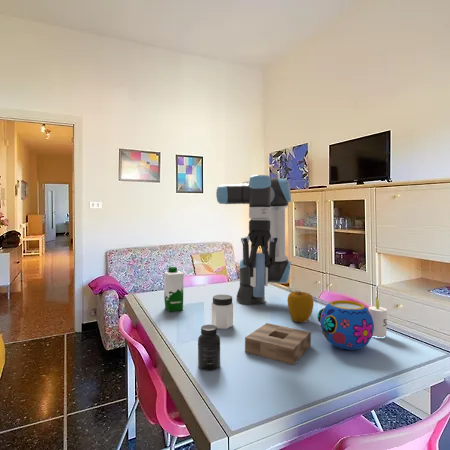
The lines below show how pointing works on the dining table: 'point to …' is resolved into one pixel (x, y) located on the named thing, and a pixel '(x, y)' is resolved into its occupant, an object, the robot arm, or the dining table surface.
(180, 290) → the milk carton
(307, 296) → the apple
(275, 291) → the dining table surface
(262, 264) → the dowel
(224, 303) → the jar
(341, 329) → the ceramic pot
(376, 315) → the candle
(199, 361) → the supplement bottle
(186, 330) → the dining table surface
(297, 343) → the socket block
